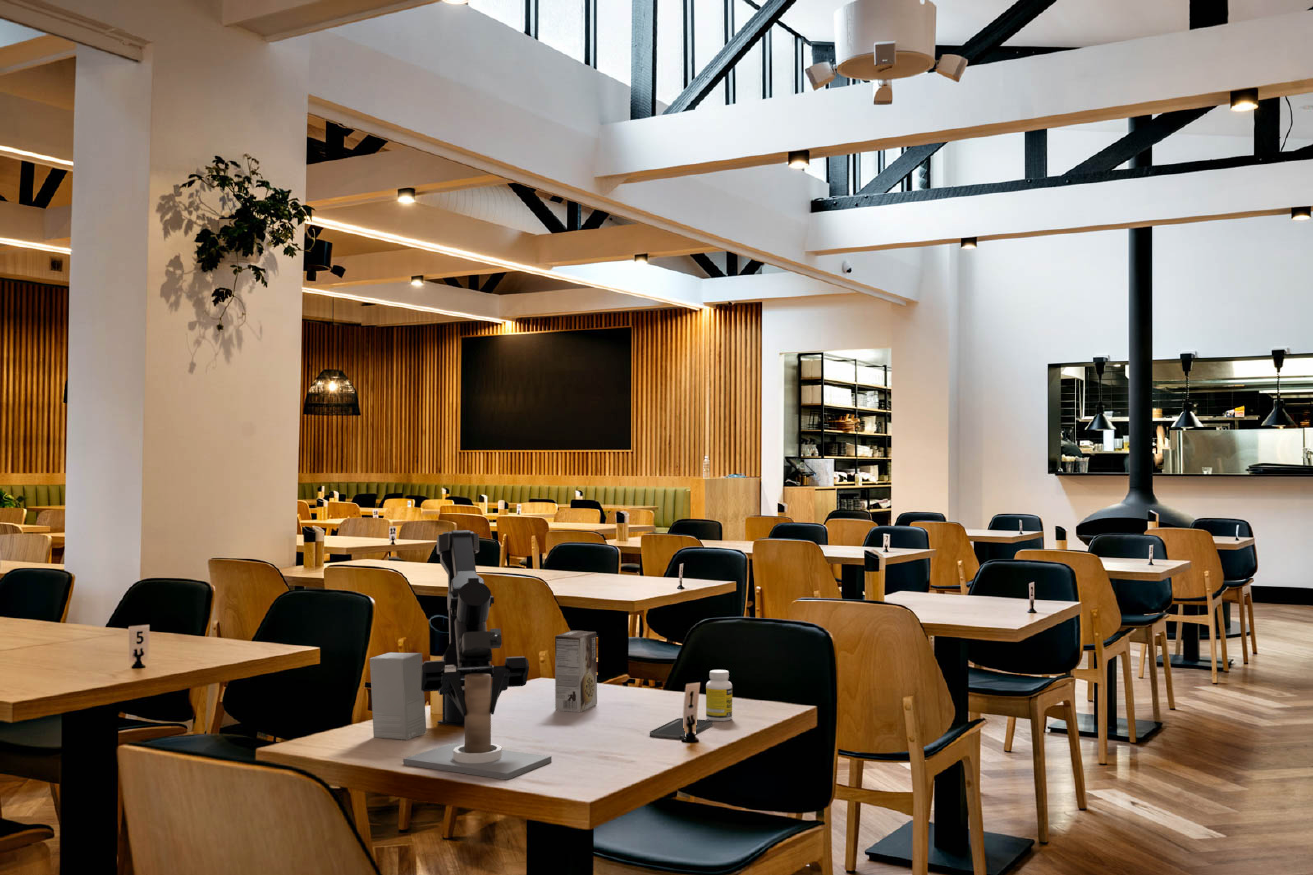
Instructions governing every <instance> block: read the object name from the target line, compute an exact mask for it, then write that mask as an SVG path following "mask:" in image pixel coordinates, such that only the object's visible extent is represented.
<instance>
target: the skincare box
mask: <svg viewBox="0 0 1313 875" xmlns="http://www.w3.org/2000/svg"><path fill="white" fill-rule="evenodd" d="M423 663H424V662H423V653H422V652H386V653H383V654H380V655H376V656H373V657H370V658H369V667H370V668H369V670H370V686H371V687H370V688H371V693H370V694H371V711H372V728H373V729H372V730H373V732H372V734H373V738H377V739H378V738H379V739H392V740H405V741H406V740H410V739H413V738H415V737H417V736H418V737H419V736H421V735H425V734H426V733H427V720H426V719H427V718H426V715H427V714H426V702H425V701H426V700H425V692H424V691H422V690H421V669H422V664H423Z"/></svg>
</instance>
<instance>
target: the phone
mask: <svg viewBox="0 0 1313 875" xmlns="http://www.w3.org/2000/svg"><path fill="white" fill-rule="evenodd" d="M683 718H684V717H680V718H679V717H678V718H675V719H673V720H672V721H669V722H667V723H666V724H662V725H661V726H658V727H656V728H655V729H652V730H650V731H649V737H650V738H657V739H658V738H659V739H668V740H679V741H684V738H685V731H684V728H683ZM713 725H714V721H711V720H708V719H699V718H697V725H696V735H697V734H700V733H701V732H703V731H705V730H707V729H709V728H711V727H712V726H713Z"/></svg>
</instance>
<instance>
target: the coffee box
mask: <svg viewBox="0 0 1313 875" xmlns="http://www.w3.org/2000/svg"><path fill="white" fill-rule="evenodd" d="M554 648H555V649H554V653H555V654H554V659H555V660H554V662H555V665H554V669H555V672H554V673H555V675H554V676H555V678H554V682H555V684H554V685H555V686H554V688H555V689H554V690H555V691H554V692H555V693H554V694H555V696H554V697H555V699H554V700H555V704H554V705H555V707H554V708H555V711H559V712H570V713H571V712H575V713H583V712H584V711H587V710H589V709H591V708H592V707H594V706H595V705H597V704H598V681H597V680H598V679H597V678H598V677H597V674H598V672H597V671H598V670H597V669H598V667H597V664H598V663H597V661H598V660H597V653H598V652H597V632H596V631H587V630H585V631H584V630H569V631H567V632H563V633H560V634H557V635H555V636H554Z"/></svg>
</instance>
